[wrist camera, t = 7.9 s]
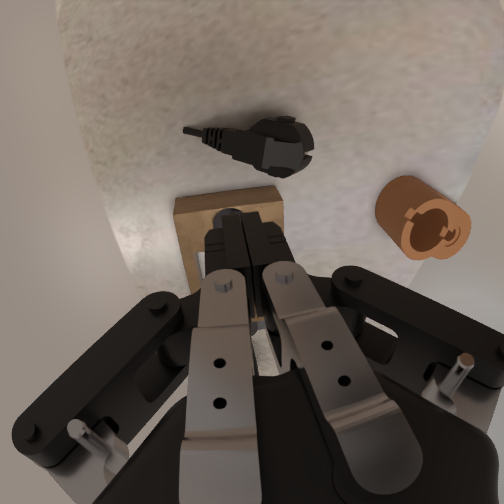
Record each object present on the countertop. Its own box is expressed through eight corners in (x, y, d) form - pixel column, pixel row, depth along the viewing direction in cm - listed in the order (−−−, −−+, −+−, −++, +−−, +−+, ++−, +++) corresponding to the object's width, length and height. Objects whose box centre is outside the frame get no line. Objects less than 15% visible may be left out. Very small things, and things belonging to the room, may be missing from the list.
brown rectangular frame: (175, 198, 33) (172, 219, 29) (275, 185, 34) (285, 204, 30) (199, 307, 43) (200, 333, 39) (278, 296, 44) (285, 321, 40)
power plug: (181, 103, 27) (298, 127, 22) (227, 100, 33) (328, 122, 28) (177, 158, 30) (285, 193, 26) (222, 146, 36) (317, 175, 31)
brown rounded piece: (363, 220, 39) (388, 250, 33) (395, 164, 35) (427, 187, 29) (441, 254, 45) (464, 281, 39) (468, 213, 41) (495, 236, 35)
